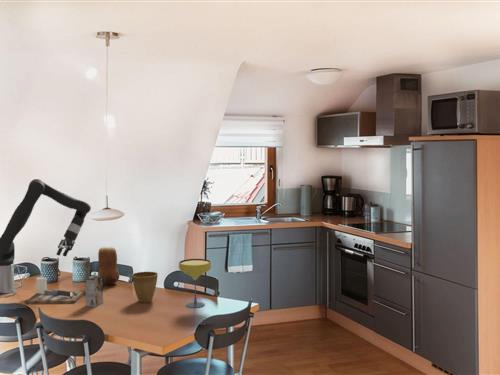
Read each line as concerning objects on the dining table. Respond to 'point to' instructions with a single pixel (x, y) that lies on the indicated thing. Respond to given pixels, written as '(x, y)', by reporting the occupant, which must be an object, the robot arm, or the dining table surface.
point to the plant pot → (145, 285)
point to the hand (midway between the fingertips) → (60, 255)
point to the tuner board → (55, 298)
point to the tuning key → (42, 288)
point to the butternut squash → (108, 265)
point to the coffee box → (94, 290)
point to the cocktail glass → (195, 274)
